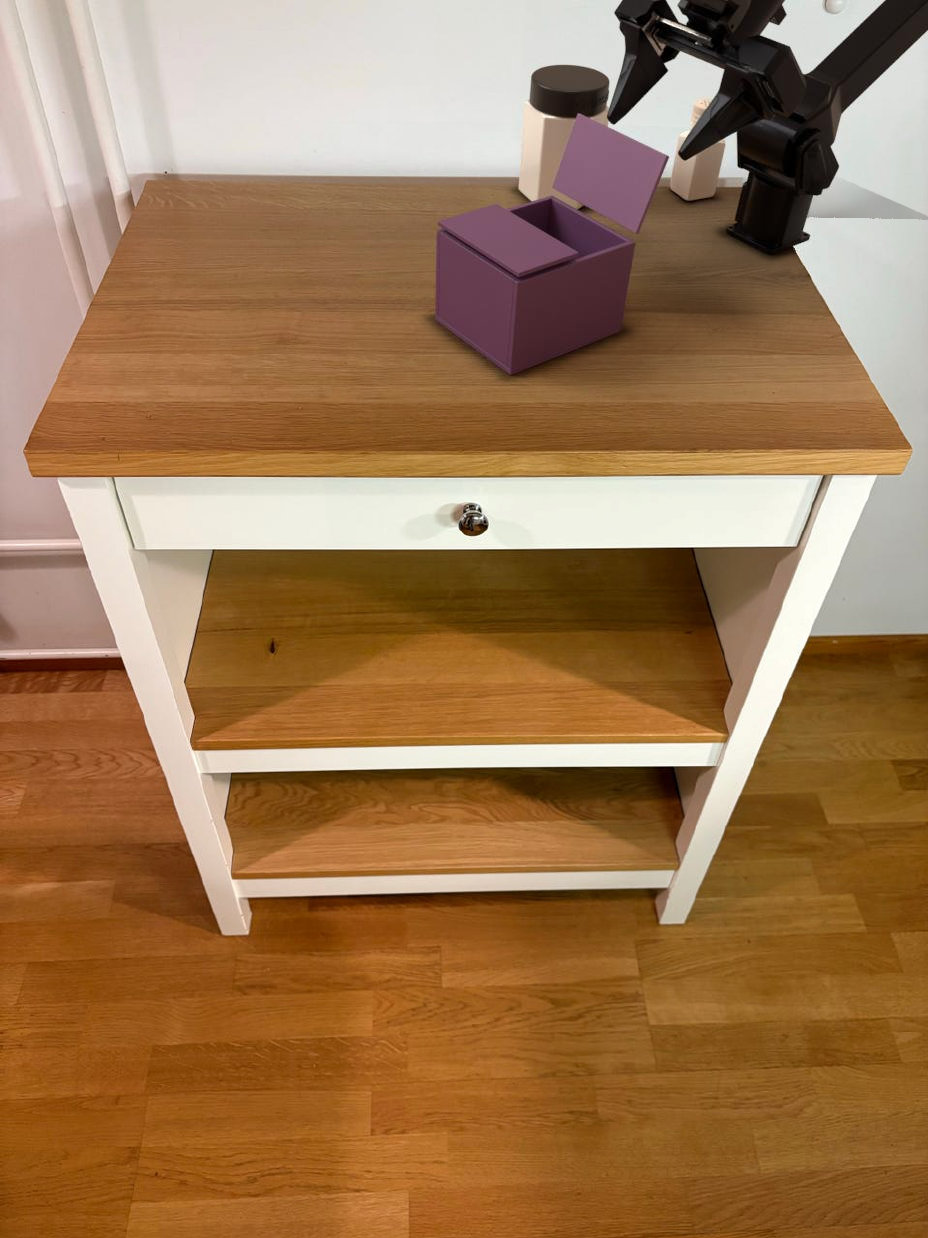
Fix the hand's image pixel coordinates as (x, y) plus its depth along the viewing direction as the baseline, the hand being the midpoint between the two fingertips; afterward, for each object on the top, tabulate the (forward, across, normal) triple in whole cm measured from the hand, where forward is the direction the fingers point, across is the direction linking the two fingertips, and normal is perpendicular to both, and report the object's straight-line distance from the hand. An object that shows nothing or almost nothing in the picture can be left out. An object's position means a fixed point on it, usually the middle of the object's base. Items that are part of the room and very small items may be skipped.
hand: (644, 138), depth 86 cm
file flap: (+5, +1, -3) cm, 5 cm away
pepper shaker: (-4, -12, +25) cm, 28 cm away
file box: (+18, +1, 0) cm, 19 cm away
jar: (+5, -20, +15) cm, 25 cm away
